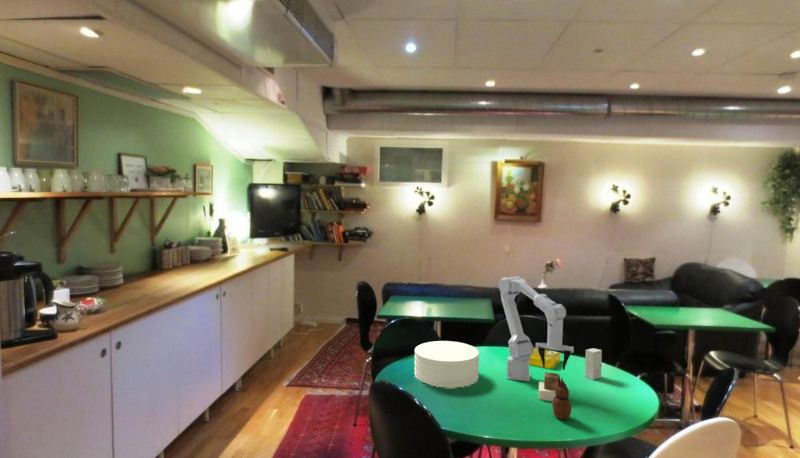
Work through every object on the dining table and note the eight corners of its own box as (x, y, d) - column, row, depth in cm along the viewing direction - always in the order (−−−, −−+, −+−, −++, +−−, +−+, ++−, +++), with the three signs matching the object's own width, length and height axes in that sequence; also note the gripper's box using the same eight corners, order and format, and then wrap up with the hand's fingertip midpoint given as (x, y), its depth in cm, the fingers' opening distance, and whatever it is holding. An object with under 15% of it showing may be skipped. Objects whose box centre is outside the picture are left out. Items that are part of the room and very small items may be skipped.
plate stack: (405, 382, 200) (405, 355, 199) (426, 361, 226) (426, 338, 225) (469, 393, 189) (470, 365, 189) (484, 370, 215) (485, 345, 214)
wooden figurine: (549, 413, 172) (550, 373, 171) (565, 413, 172) (566, 372, 171) (557, 422, 165) (558, 380, 164) (573, 421, 165) (574, 379, 164)
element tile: (531, 355, 237) (531, 345, 237) (561, 361, 229) (561, 351, 229) (520, 363, 225) (520, 353, 225) (552, 370, 217) (552, 360, 216)
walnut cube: (544, 388, 185) (544, 376, 185) (544, 384, 190) (545, 372, 189) (557, 390, 183) (557, 378, 183) (557, 386, 188) (558, 373, 188)
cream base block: (539, 400, 184) (539, 390, 183) (538, 391, 192) (538, 381, 192) (563, 403, 181) (563, 393, 181) (561, 394, 190) (562, 384, 190)
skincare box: (593, 380, 204) (594, 352, 203) (584, 376, 208) (585, 349, 207) (601, 377, 207) (602, 350, 207) (592, 374, 211) (593, 347, 210)
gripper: (535, 335, 189) (534, 368, 190) (574, 339, 184) (572, 373, 185) (536, 330, 195) (535, 362, 196) (573, 334, 190) (572, 367, 191)
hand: (553, 367), depth 191 cm, fingers open, 7 cm apart
